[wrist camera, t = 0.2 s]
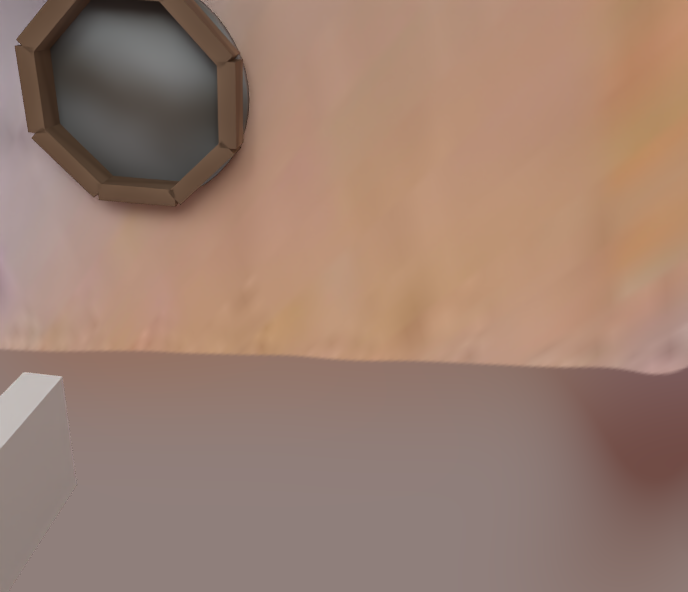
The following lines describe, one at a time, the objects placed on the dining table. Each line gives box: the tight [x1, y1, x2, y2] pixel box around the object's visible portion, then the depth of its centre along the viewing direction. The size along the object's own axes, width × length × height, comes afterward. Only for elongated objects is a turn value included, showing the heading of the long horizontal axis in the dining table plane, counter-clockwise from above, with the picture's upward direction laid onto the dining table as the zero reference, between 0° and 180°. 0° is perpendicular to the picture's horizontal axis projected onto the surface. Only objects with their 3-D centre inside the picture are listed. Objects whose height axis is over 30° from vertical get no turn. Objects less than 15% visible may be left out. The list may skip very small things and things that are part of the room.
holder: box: [15, 0, 249, 206], centre depth 36 cm, size 12×12×3 cm
